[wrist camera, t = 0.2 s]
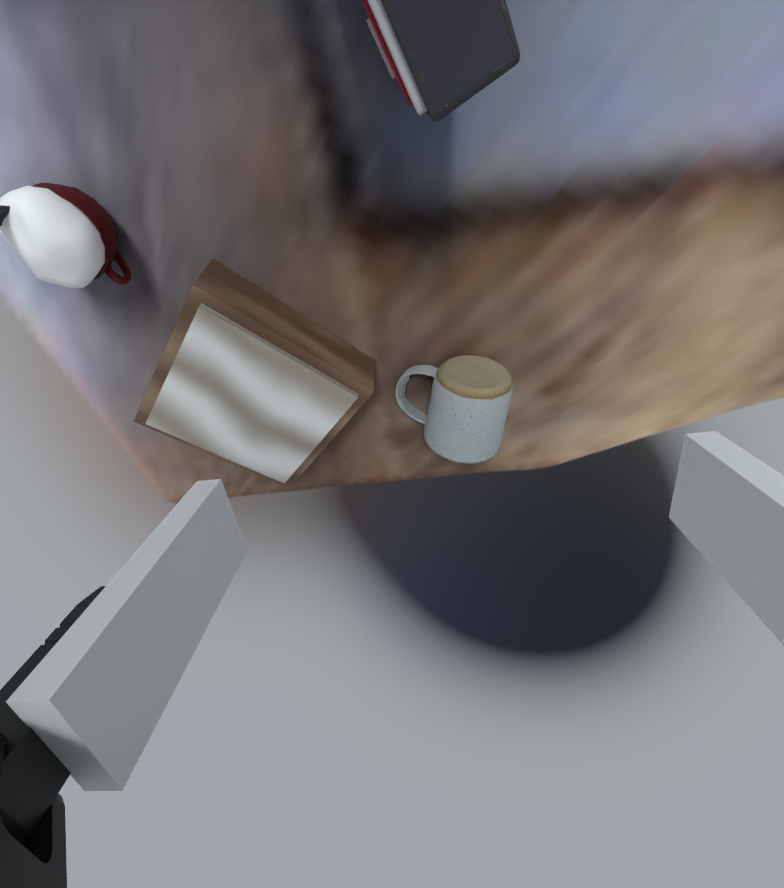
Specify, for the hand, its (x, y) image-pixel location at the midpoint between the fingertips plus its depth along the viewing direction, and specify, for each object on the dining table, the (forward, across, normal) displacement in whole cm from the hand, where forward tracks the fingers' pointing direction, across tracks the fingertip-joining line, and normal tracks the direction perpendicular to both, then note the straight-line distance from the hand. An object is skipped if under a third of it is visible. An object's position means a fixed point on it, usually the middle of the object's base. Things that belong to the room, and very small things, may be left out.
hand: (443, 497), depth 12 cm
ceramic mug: (+31, +2, -8) cm, 32 cm away
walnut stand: (+29, -16, -4) cm, 34 cm away
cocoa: (+25, -25, +11) cm, 37 cm away
